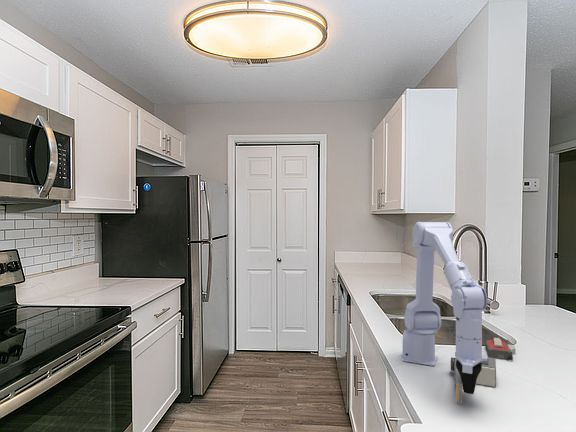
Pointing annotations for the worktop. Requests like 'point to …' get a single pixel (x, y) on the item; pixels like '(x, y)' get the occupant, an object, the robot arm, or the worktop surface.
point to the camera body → (483, 371)
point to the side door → (458, 386)
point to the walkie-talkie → (499, 349)
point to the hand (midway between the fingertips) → (468, 392)
